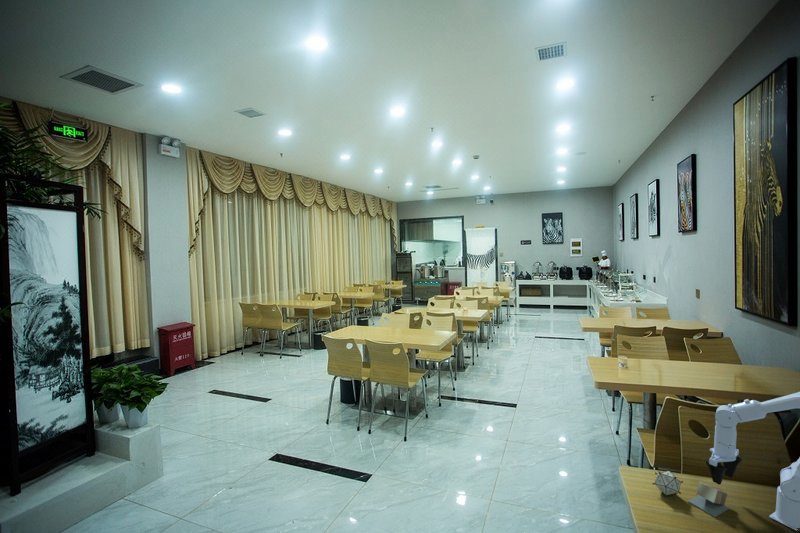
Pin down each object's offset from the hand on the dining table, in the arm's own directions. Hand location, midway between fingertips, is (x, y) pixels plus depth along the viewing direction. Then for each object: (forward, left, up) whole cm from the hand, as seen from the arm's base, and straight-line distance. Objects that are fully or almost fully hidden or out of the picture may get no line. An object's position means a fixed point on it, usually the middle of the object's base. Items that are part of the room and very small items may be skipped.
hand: (722, 479), depth 137 cm
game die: (+10, +14, -7) cm, 19 cm away
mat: (0, +9, -6) cm, 11 cm away
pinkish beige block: (0, +3, -5) cm, 6 cm away
